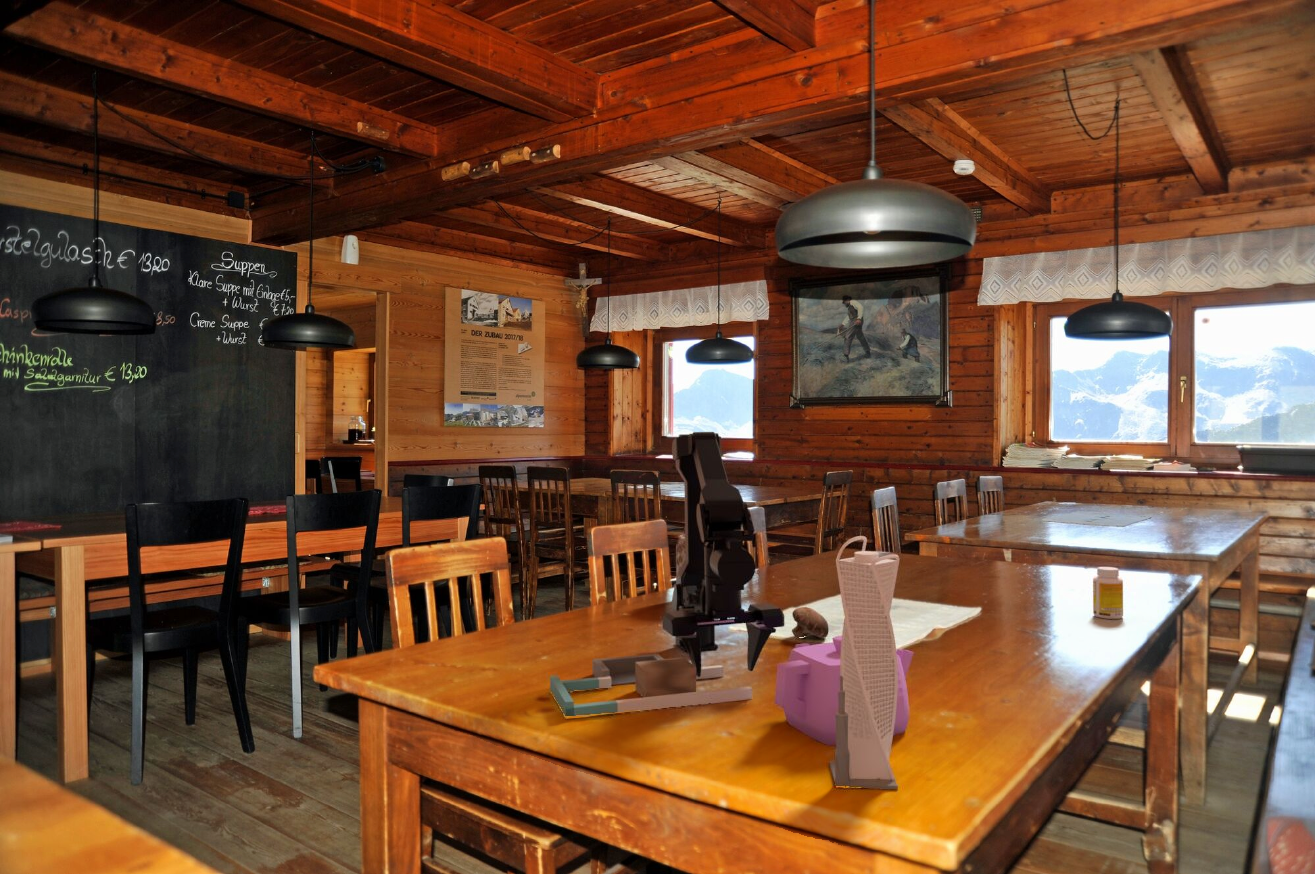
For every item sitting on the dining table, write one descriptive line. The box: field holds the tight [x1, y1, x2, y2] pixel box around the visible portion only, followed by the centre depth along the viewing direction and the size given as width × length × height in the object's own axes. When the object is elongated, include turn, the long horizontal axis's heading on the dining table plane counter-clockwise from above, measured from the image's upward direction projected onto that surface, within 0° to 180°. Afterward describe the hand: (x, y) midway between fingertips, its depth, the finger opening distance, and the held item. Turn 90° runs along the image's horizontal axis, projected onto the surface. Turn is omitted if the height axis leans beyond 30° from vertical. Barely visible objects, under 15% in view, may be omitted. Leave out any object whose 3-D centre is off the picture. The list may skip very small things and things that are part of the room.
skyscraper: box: [828, 535, 900, 790], centre depth 104 cm, size 8×8×28 cm
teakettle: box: [774, 635, 914, 747], centre depth 120 cm, size 17×17×12 cm
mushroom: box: [791, 606, 830, 639], centre depth 169 cm, size 8×8×6 cm
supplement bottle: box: [1092, 566, 1124, 620], centre depth 183 cm, size 6×6×10 cm
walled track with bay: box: [549, 653, 753, 716], centre depth 138 cm, size 29×21×2 cm
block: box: [635, 657, 697, 698], centre depth 136 cm, size 8×6×4 cm
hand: (724, 673), depth 138 cm, fingers open, 8 cm apart
